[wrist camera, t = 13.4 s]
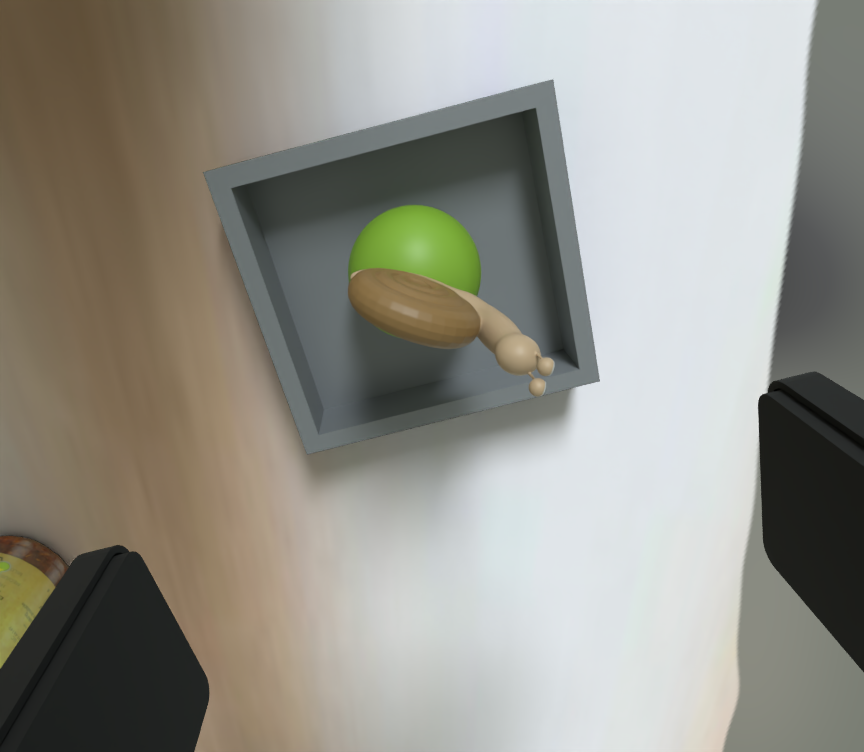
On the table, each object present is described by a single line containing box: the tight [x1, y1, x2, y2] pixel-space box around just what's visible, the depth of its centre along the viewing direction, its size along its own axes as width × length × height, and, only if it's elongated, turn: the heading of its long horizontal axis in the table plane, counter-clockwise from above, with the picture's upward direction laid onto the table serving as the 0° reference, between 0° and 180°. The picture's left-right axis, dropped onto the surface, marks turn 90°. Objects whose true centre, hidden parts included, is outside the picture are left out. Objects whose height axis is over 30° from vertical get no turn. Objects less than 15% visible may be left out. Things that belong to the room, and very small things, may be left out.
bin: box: [203, 80, 600, 454], centre depth 28 cm, size 13×14×4 cm
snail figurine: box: [348, 205, 555, 397], centre depth 23 cm, size 5×6×12 cm
